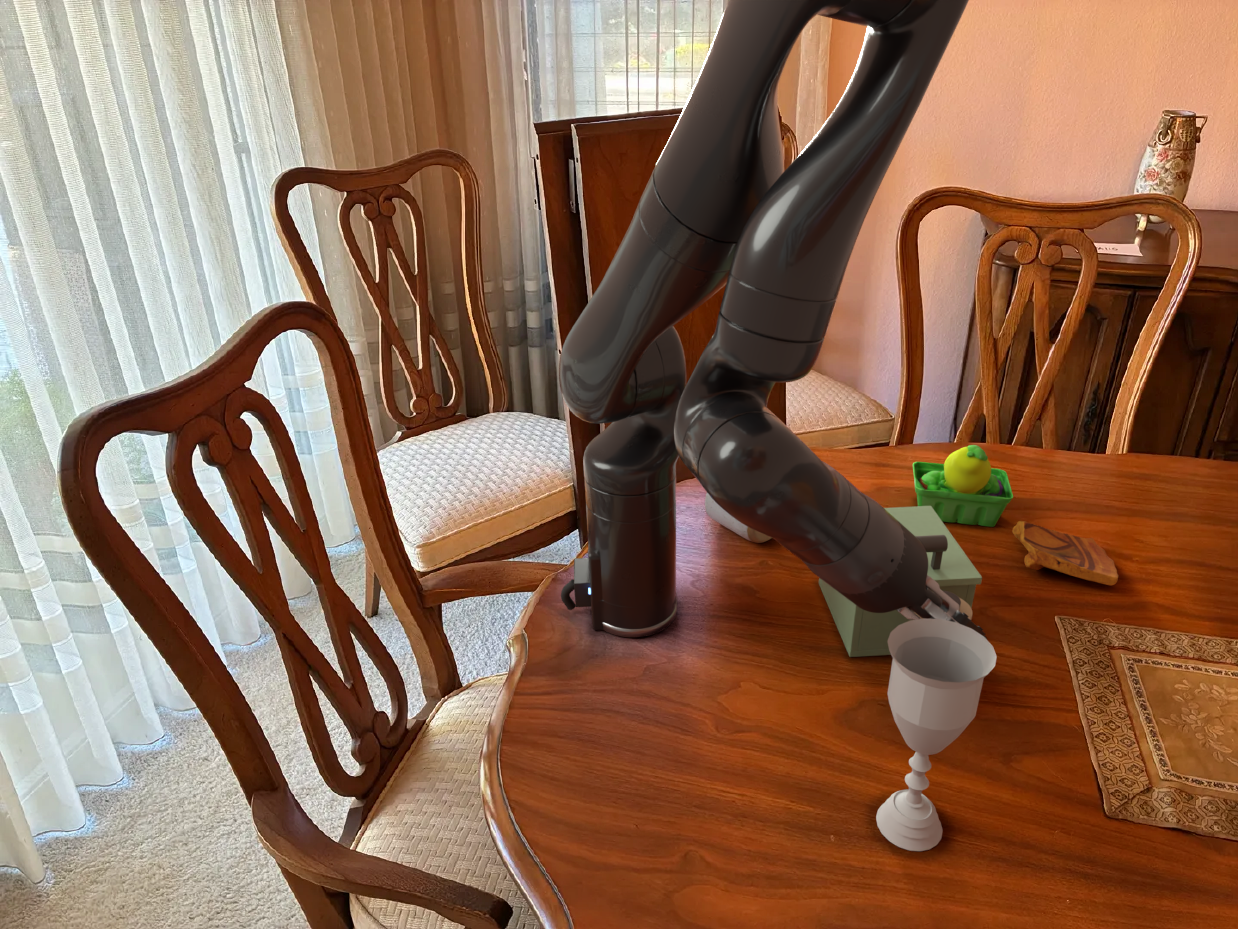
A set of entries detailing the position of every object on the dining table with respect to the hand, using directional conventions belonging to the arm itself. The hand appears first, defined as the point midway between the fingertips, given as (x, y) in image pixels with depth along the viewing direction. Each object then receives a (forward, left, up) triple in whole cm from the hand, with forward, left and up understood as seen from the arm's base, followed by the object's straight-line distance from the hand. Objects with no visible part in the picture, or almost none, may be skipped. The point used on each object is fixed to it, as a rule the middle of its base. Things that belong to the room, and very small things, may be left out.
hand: (955, 628), depth 78 cm
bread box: (-2, +11, -7) cm, 14 cm away
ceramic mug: (-13, +30, -8) cm, 34 cm away
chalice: (-8, -15, -8) cm, 19 cm away
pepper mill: (-2, -1, -6) cm, 6 cm away
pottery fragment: (+21, +18, -8) cm, 29 cm away
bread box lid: (-2, +11, +1) cm, 11 cm away
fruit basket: (+13, +30, -8) cm, 34 cm away
